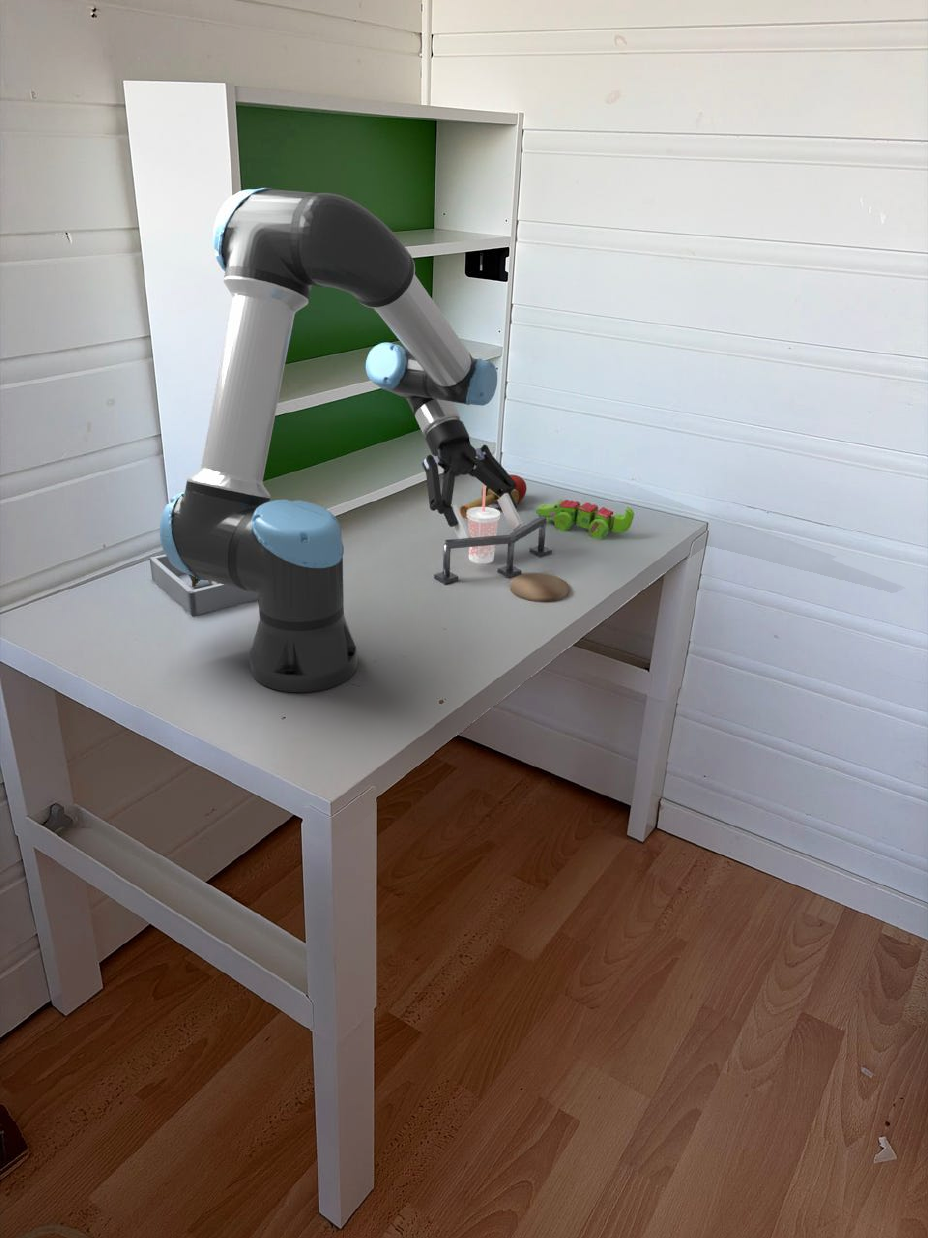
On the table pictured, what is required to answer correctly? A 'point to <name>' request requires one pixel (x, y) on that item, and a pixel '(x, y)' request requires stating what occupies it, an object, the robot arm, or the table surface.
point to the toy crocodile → (586, 517)
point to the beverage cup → (482, 530)
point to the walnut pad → (539, 587)
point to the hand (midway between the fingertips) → (492, 534)
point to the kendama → (496, 496)
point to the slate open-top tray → (197, 598)
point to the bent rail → (509, 539)
